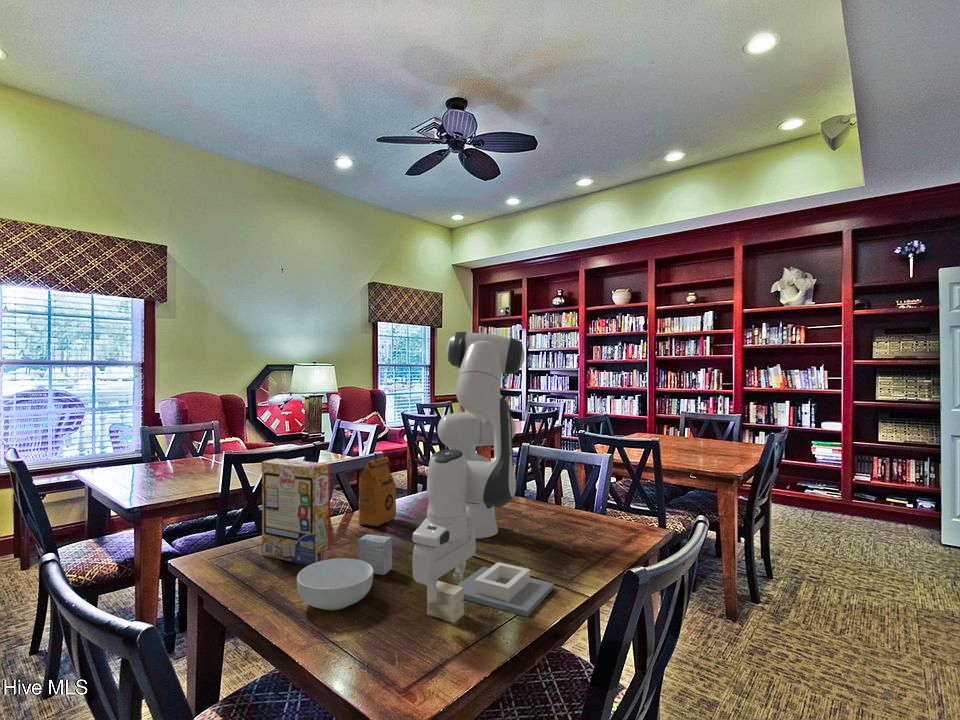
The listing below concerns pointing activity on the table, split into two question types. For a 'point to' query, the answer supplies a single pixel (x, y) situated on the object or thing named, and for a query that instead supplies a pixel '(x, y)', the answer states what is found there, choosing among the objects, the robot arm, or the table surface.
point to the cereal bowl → (334, 583)
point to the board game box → (296, 510)
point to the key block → (447, 602)
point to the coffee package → (377, 494)
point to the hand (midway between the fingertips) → (446, 589)
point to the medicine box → (376, 552)
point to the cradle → (506, 588)
